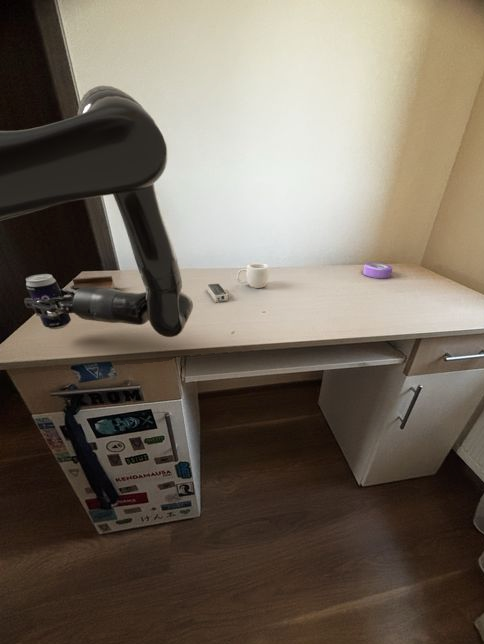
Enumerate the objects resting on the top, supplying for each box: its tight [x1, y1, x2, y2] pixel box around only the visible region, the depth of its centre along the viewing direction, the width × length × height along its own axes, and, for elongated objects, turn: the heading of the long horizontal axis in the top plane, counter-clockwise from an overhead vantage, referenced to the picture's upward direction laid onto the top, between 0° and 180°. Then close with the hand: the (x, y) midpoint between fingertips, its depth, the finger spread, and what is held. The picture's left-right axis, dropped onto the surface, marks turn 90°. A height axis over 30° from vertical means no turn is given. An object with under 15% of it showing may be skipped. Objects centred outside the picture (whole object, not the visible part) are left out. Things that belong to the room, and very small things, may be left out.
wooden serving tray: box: [72, 275, 116, 290], centre depth 92 cm, size 12×16×4 cm
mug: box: [236, 262, 270, 289], centre depth 106 cm, size 12×8×8 cm
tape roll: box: [362, 261, 393, 279], centre depth 124 cm, size 12×12×4 cm
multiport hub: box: [206, 283, 229, 303], centre depth 98 cm, size 4×11×2 cm, turn 24°
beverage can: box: [25, 273, 72, 330], centre depth 66 cm, size 6×6×12 cm
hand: (38, 297), depth 65 cm, fingers closed on beverage can, 5 cm apart
